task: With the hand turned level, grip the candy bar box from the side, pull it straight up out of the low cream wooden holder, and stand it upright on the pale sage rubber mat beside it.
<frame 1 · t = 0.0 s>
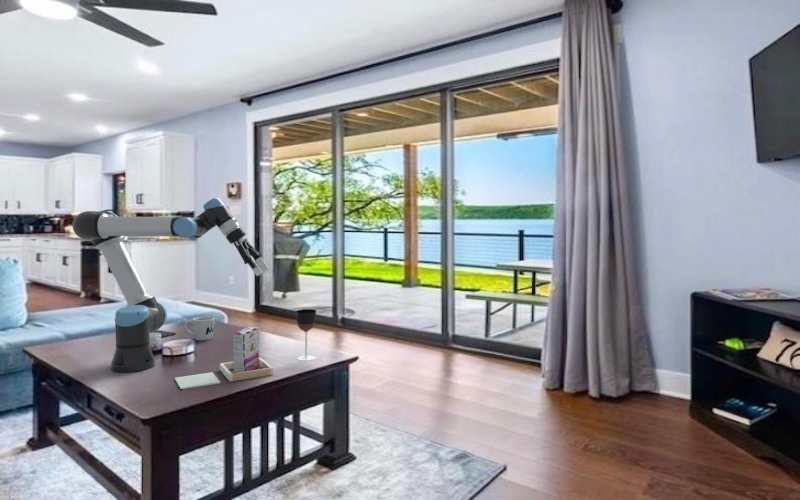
hand: (263, 272, 210), 36 cm above the table, tool tilted 35°, fingers open, 13 cm apart
notebook: (148, 339, 244), on the table
rubber mat: (197, 381, 179), on the table
candy bar box: (246, 372, 191), resting in cream rectangular open frame
mug: (199, 338, 243), on the table
wineglass: (306, 358, 211), on the table
teacup: (152, 347, 227), on the table
cream rectangular open frame: (246, 372, 191), on the table
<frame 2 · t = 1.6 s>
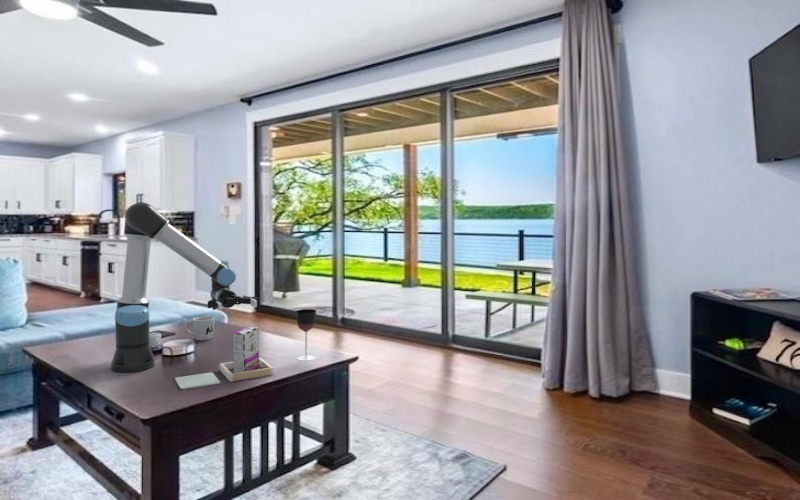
hand: (238, 305, 197), 24 cm above the table, tool horizontal, fingers open, 13 cm apart
nothing on the table moved.
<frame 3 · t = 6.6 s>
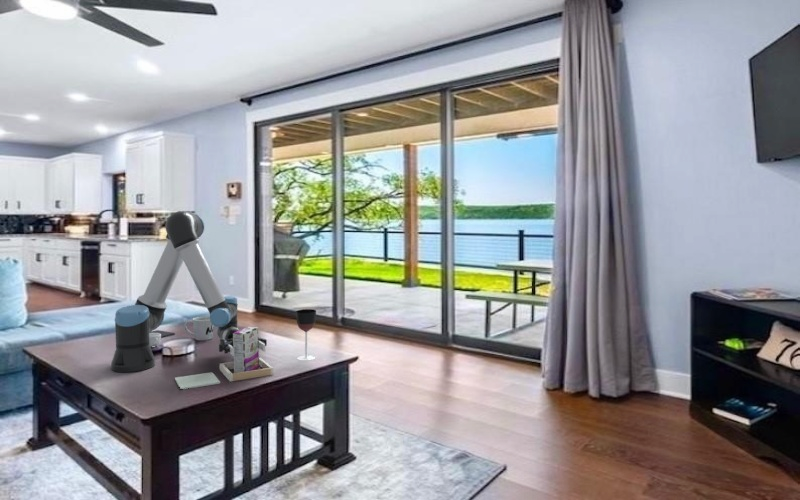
hand: (249, 350, 187), 10 cm above the table, tool horizontal, fingers closed on candy bar box, 11 cm apart
candy bar box: (246, 372, 191), resting in cream rectangular open frame, touching gripper
everything else where it was.
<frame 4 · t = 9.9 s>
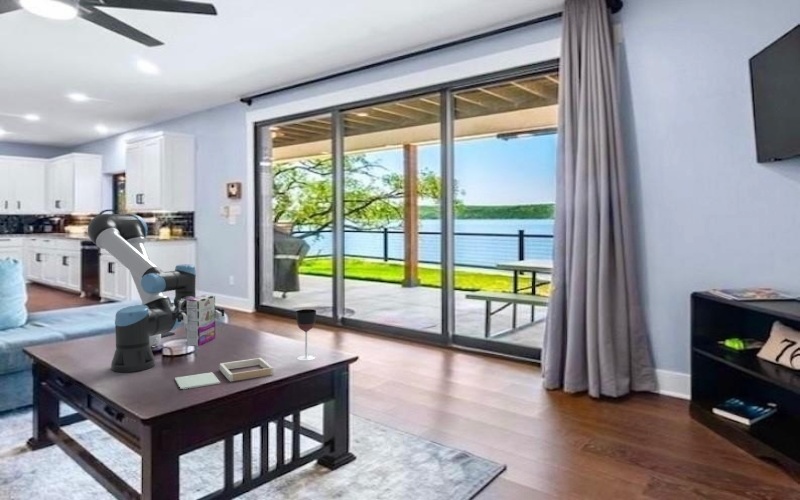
hand: (203, 318, 176), 23 cm above the table, tool horizontal, fingers closed on candy bar box, 11 cm apart
candy bar box: (201, 342, 180), point 14 cm above the table, touching gripper
everything else where it was.
when the fingers open (12 cm above the table, at t = 13.4 s): candy bar box drops 1 cm, resting on rubber mat.
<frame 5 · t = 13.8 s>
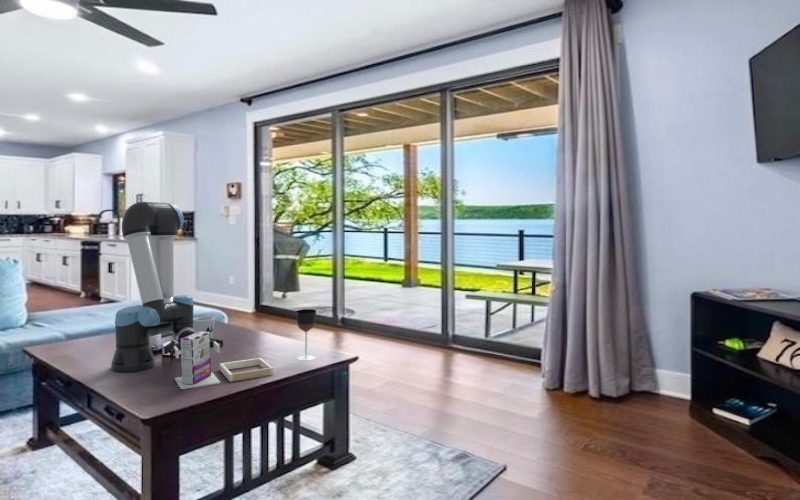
hand: (198, 351, 176), 12 cm above the table, tool horizontal, fingers open, 13 cm apart
candy bar box: (196, 380, 179), resting on rubber mat
everything else where it was.
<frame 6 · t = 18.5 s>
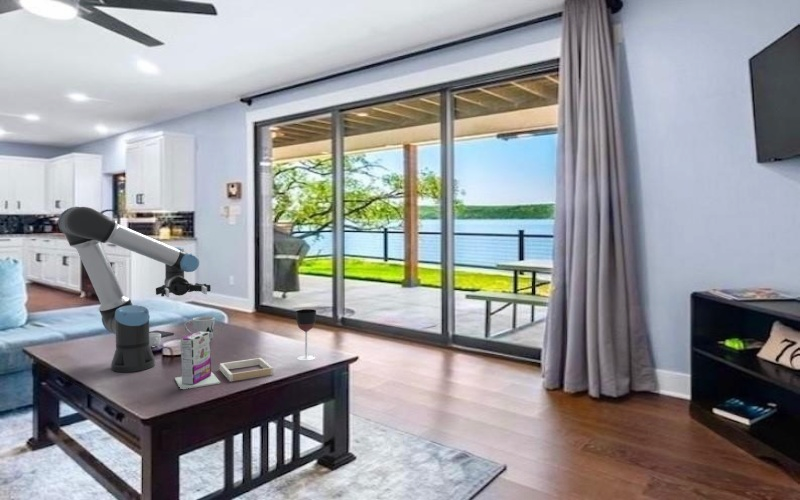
hand: (187, 292, 193), 30 cm above the table, tool horizontal, fingers open, 13 cm apart
nothing on the table moved.
at the end: candy bar box inside the target area on the rubber mat (0.2 cm from its centre), point 0.4 cm above the rubber mat's base; candy bar box tilted 0°; the gripper is holding nothing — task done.
